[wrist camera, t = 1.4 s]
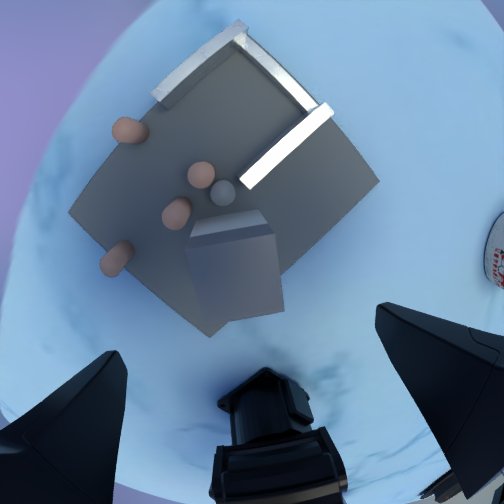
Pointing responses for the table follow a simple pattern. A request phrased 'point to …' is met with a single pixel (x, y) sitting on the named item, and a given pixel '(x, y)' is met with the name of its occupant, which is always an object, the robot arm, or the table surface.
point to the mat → (226, 167)
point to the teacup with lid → (495, 253)
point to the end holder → (236, 40)
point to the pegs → (178, 208)
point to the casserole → (444, 488)
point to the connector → (235, 267)
